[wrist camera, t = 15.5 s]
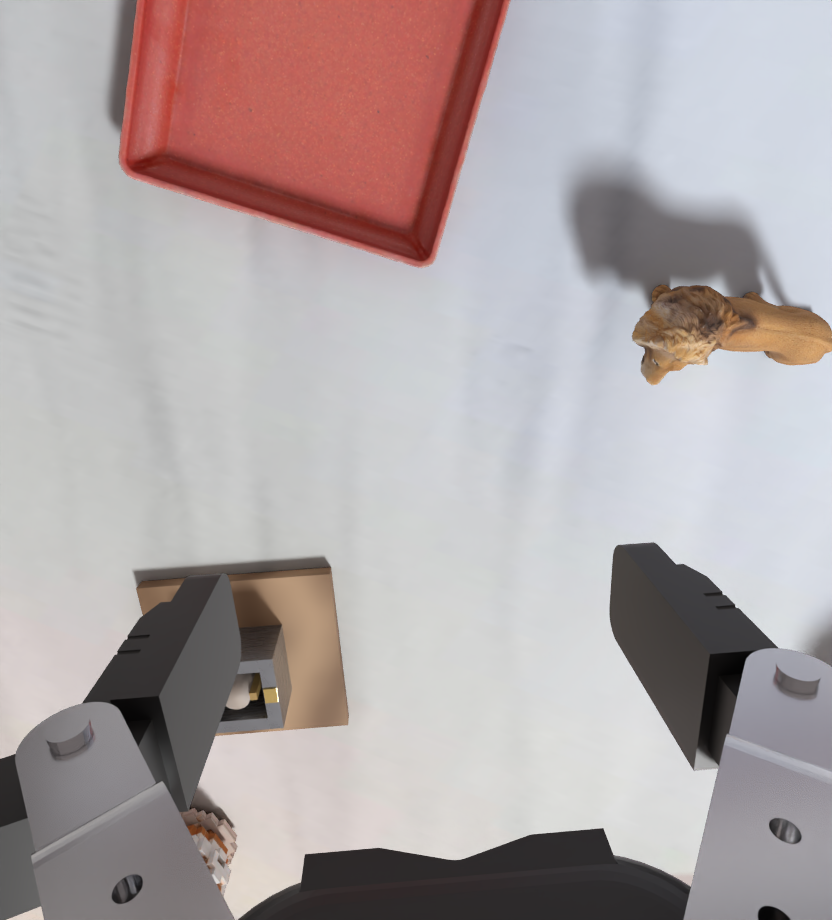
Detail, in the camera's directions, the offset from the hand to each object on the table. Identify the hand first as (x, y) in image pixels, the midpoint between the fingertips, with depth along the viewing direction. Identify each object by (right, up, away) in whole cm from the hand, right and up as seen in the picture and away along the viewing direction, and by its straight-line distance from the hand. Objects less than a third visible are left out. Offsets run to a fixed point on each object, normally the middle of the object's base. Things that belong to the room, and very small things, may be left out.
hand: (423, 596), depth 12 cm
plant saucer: (-5, +25, +21) cm, 34 cm away
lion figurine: (+19, +12, +27) cm, 35 cm away
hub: (-13, -13, +33) cm, 37 cm away
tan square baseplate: (-13, -12, +34) cm, 38 cm away
